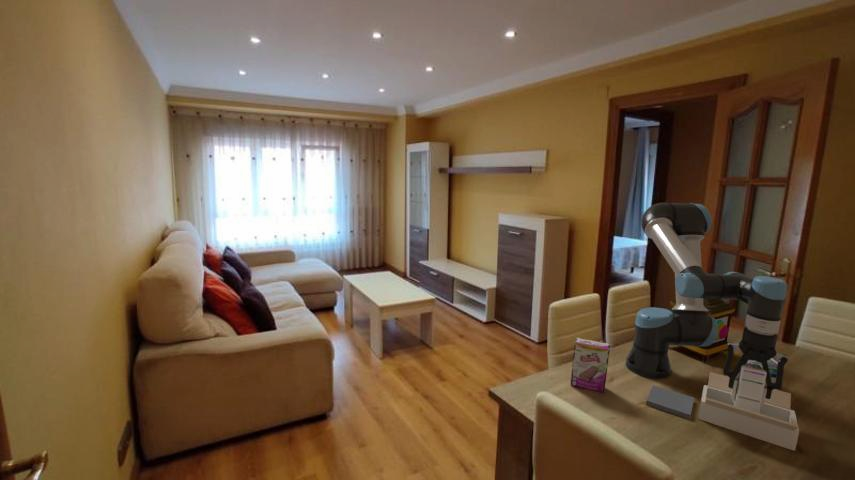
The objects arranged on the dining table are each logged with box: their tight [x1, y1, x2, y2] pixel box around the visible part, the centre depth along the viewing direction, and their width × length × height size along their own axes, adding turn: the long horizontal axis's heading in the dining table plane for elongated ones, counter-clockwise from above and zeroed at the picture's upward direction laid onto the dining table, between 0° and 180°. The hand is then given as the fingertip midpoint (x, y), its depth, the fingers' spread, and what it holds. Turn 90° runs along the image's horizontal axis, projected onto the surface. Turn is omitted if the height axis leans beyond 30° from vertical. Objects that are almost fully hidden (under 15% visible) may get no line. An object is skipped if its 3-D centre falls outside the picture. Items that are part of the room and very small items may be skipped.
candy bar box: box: [570, 337, 611, 394], centre depth 137 cm, size 11×5×16 cm, turn 65°
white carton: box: [698, 371, 800, 452], centre depth 118 cm, size 22×20×9 cm
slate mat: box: [645, 384, 695, 420], centre depth 129 cm, size 12×12×2 cm
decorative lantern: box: [670, 298, 736, 364], centre depth 165 cm, size 20×20×30 cm
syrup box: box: [733, 361, 767, 413], centre depth 117 cm, size 6×6×14 cm
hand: (746, 402), depth 118 cm, fingers closed on syrup box, 6 cm apart
